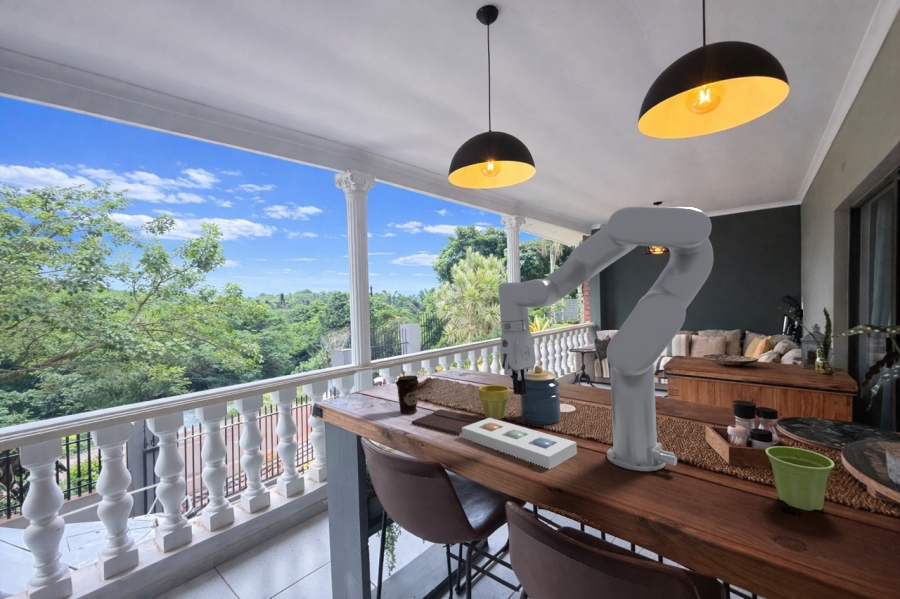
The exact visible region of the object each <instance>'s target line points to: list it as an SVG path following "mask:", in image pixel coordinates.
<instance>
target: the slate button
mask: <svg viewBox="0 0 900 599" xmlns="http://www.w3.org/2000/svg"><path fill="white" fill-rule="evenodd" d="M533 445H535V446H538V447H541V448H545V449H546V448H548V447H550V446H552V441H551V440H549V439H544V438H539V439H535V440H534V441H533Z"/></svg>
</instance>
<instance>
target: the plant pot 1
mask: <svg viewBox="0 0 900 599" xmlns="http://www.w3.org/2000/svg"><path fill="white" fill-rule="evenodd" d="M478 397H479V399H480V400H481V405H482V408H483V409H482V410H483V413H484V418H486V419H487V418H493V419H496V420H501V419H503V418H505V416H506V412H507V404H508V400H509V399H510V387H508V386H506V385H501V384H499V385H498V384H492V385H484V386H483V385H482V386H480V387H479V388H478Z"/></svg>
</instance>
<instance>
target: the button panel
mask: <svg viewBox="0 0 900 599" xmlns="http://www.w3.org/2000/svg"><path fill="white" fill-rule="evenodd" d="M487 423H495V424H498V425H499V429H497V430H494V431H492V432H491V431H488V430H485V429H483V425H484V424H487ZM511 430H518V431H522V432H523V433H524V437H521V438H519V439H517V440H516V439H513V438H510V437H507V436H506V432H508V431H511ZM461 438H462V439H464V438H465V439H464V440H467V439H468V441H470V440H471V441H470V442H473V443H475V442H476V443H475V444H478V443H479V445H481V446H483V447H486V446H487V448H489V447H490V448H489V449H492V448H493V450H495V451H497V450H499V451H498V452H500V451H501V452H500V453H503V452H505V453H504V454H506V453H507V454H506V455H508V454H510V455H509V456H511V455H513V456H512V457H514V456H515V457H514V458H517V457H518V458H517V459H519V458H521V459H520V460H522V459H524V460H523V461H525V460H526V461H525V462H528V461H529V462H528V463H530V462H532V463H531V464H533V463H534V464H533V465H536V464H537V465H536V466H538V465H540V466H539V467H541V466H543V467H542V468H544V467H545V469H547V468H548V469H547V470H549V469H550V470H551V468H552V469H554V468H555V467H557V466H558V465H560V464H562V463H564V462H565V461H567V460H569V459H570V458H572V457H574V456H577V454H578V450H577V441H574V440H570V439H567V438H563V437H559V436H557V435H552V434H549V433H545V432H541V431H538V430H534V429H530V428H529V427H524V426H521V425H517V424H514V423H511V422H507V421H503V420H501V419H493V418H486V419H485V420H482V421H479V422H476V423H473V424H471V425H468V426H465V427H462V434H461ZM539 438H544V439H549V440H551V441H552V446H550V447H548V448H546V449H545V448H541V447H538V446H535V445H533V441H534V440H535V439H539Z"/></svg>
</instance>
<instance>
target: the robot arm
mask: <svg viewBox="0 0 900 599" xmlns="http://www.w3.org/2000/svg"><path fill="white" fill-rule="evenodd" d="M712 226H713V225H712V221H711V219H710V217H709V216H708V214H707V213H706V212H704V211H703V210H700V209H699V208H694V207H685V206H626V207H622V208H619V209H618V210H615V211H614V212H613V213H612V214H611V215H610V217H609V218H608V220H607V223H606V225H605V226H603V227H602V228H600V229H599V230H597V231H596V232H595V233H594V234H592V235H591V236H589V237H588V238H586V239H585V240H584V241H583V242H581V243H580V244H578V245H577V246H576V247H574V249H573V250H572V251H571V253H570V254H569V256H568V258H567V259H566V261H564V262H563V263H562V265H560V267H558V268H556V270H554V271H552V272H551V273H550V274H548V275H547V276H545V277H544V278H537V279H536V278H535V279H531V280H526V281H522V282H521V281H515V282H513V281H512V282H505V283H504V282H503V283H501V284H500V285H499V286H498V302H499V312H500V314H499V315H500V328H501V333H500V334H501V335H500V348H499V349H500V364H501V367H502V369H503V370H504V371H503V374H504V375H505V376H509V377H510V380H512V390H513V394H514V395H519V396H520V395H524V394H526V378H527V372H528V371H531V370H532V367H534V366H536V363H537V362H536V360H537V359H536V350H535V344H534V339H533V335H532V331H531V330H530V323H529V322H530V321H529V310H528V308H535V309H536V308H537V309H538V308H545V307H549V306H552V305H554V304H556V303H557V302H559V301H561V300H562V299H563V298H564V297H566V296H568V295H569V294H571V293H573V291H575V290H576V289H577V288H579V287H580V286H581V285H583V284H585V283H586V282H588V281H590V280H591V279H592V278H594V277H595V276H596V275H598V274H599V273H600V272H602V271H603V270H605V269H606V268H607V267H609V266H610V265H612V264H613V263H615V262H616V261H618V260H619V259H621V258H622V257H624V256H625V255H626V254H628V253H630V252H631V251H632V250H634V249H636V248H637V247H638V246H640V247H641V246H643V247H657V248H667V250H669V260H668V262H667V264H666V266H665V267H663V268H664V269H662V271H661V273H660V274H659V275H658V278H657V279H656V280H655V281H654V283H653V285H652V286H651V287H650V288H649V290H648V291H647V292H646V294H644V295H643V296H642V297H641V298H640V299H639V300H638V302H637V303H636V305H635V306H634V308H633V309H632V311H631V312H630V314H629V315H628V316H627V317H626V319H625V321H624V322H623V323H622V325H621V326H620V327H619V329H618V330H617V332H616V333H615V334H613V336H612V337H611V338H610V341H609V342H608V345H607V348H606V359H607V362H608V364H609V365H610V366H609V370H610V392H611V394H610V398H611V416H612V417H611V418H612V419H611V420H612V422H611V423H612V441H613V443H612V445H613V446H612V447H610V448H609V449H608V450H607V451H606V456H607V459H608V460H609V462H610V463H612V464H614V465H615V466H618V467H621V468H624V469H627V470H631V471H638V472H653V471H654V472H655V471H659V470H661V469H663V468H664V467H666V464H668V465H671V466H677V463H678V457H677V456H676V454H675V453H674V452H671V451H666V450H664V449H663V448H662V442H658V440H657V439H658V438H657V435H658V434H657V418H656V417H657V415H656V412H657V410H656V388H655V384H656V383H655V369H654V368H655V367H654V366H655V362H656V361H657V360H658V359H659V358H660V357H661V355H662V354H663V352H664V351H665V349H666V348H667V347H668V346H669V345H670V343H671V342H672V341H673V339H675V337H676V336H677V334H678V333H679V332H680V330H681V329H682V327H683V325H684V323H685V320H686V315H687V313H686V310H687V308H688V307H689V305H690V304H691V303H692V302H693V300H694V299H695V297H696V296H697V294H698V293H699V291H701V288H702V287H703V286H704V284H705V283H706V281H707V279H708V278H709V276H710V275H711V272H712V269H713V265H714V250H713V249H714V248H713V245H712V242H711V240H710V238H709V237H710V235H711V233H712Z"/></svg>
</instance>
